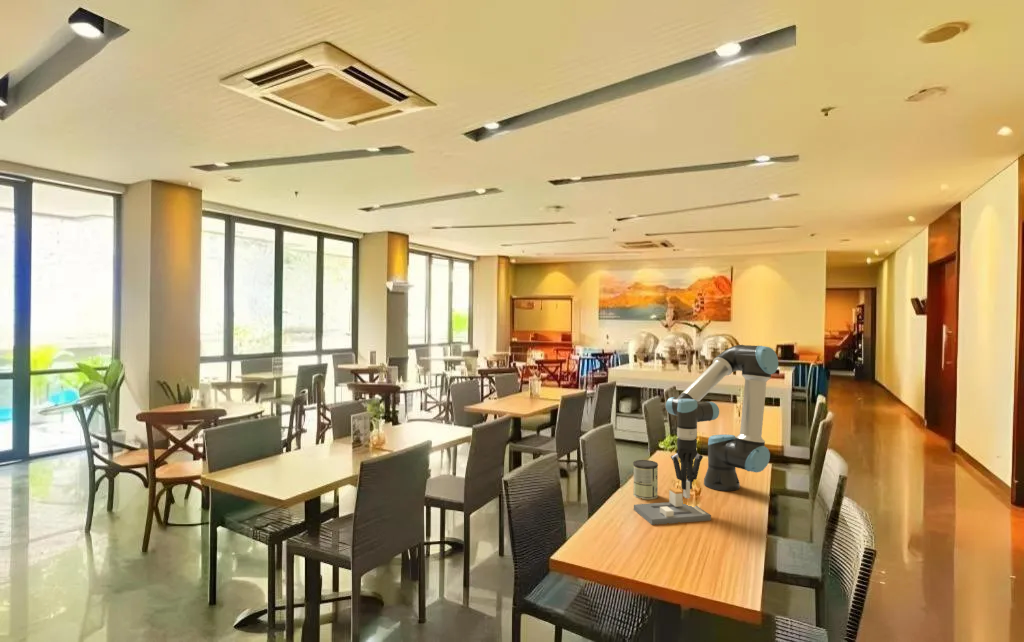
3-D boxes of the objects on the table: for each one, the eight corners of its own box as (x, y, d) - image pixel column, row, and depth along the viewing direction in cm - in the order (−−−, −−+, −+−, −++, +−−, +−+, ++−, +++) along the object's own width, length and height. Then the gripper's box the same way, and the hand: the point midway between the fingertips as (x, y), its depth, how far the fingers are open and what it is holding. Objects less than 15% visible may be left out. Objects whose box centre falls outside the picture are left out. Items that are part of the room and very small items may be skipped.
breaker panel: (688, 505, 220) (689, 495, 220) (710, 520, 204) (710, 509, 204) (633, 509, 215) (633, 499, 215) (651, 524, 199) (651, 514, 199)
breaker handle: (676, 501, 217) (676, 487, 217) (682, 506, 212) (682, 491, 212) (669, 502, 216) (669, 487, 216) (675, 506, 211) (675, 491, 211)
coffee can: (631, 491, 238) (631, 459, 238) (655, 492, 237) (655, 460, 237) (634, 499, 227) (634, 465, 227) (659, 500, 226) (659, 466, 226)
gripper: (676, 440, 210) (676, 501, 210) (707, 439, 212) (706, 499, 213) (667, 436, 217) (666, 495, 217) (696, 435, 220) (696, 493, 220)
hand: (686, 497), depth 215 cm, fingers closed
